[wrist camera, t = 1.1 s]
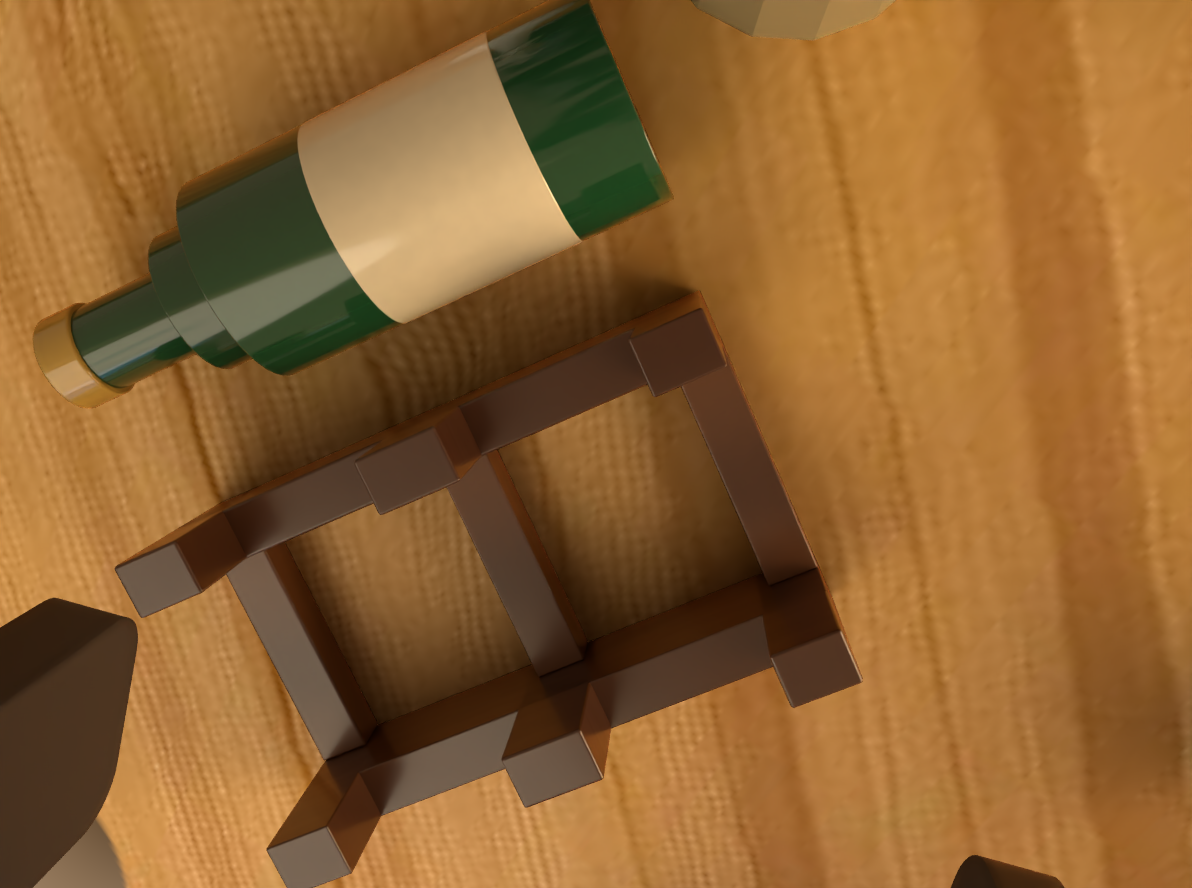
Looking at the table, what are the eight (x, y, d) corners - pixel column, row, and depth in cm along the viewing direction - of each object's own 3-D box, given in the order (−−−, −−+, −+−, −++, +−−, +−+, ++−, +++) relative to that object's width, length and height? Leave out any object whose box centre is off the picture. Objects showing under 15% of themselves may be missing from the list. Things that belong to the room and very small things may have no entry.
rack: (215, 505, 35) (112, 567, 29) (699, 289, 33) (702, 306, 26) (359, 780, 37) (291, 896, 31) (832, 597, 34) (864, 682, 28)
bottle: (592, 6, 31) (570, -43, 25) (676, 201, 32) (673, 197, 26) (76, 264, 34) (-52, 274, 28) (166, 436, 35) (61, 480, 29)
